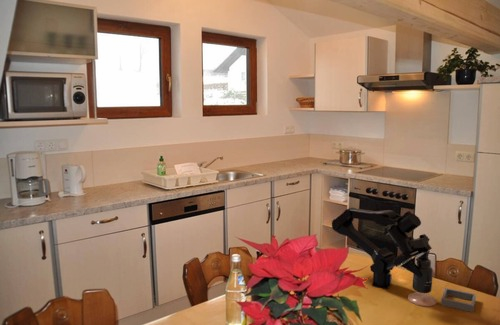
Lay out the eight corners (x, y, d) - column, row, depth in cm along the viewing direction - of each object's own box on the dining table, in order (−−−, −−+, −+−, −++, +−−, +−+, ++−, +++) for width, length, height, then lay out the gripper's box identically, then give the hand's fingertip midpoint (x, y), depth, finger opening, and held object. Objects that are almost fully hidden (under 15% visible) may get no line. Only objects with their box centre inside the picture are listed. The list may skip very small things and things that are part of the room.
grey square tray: (440, 304, 155) (441, 298, 154) (445, 293, 163) (445, 287, 163) (473, 312, 149) (473, 305, 149) (475, 300, 158) (475, 294, 157)
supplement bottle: (430, 295, 153) (432, 264, 152) (411, 291, 157) (412, 261, 155) (432, 288, 159) (434, 258, 158) (413, 284, 163) (415, 255, 161)
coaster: (405, 302, 157) (405, 300, 157) (411, 292, 165) (411, 290, 165) (434, 309, 152) (434, 307, 151) (438, 298, 160) (438, 296, 160)
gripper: (402, 233, 152) (429, 271, 145) (428, 223, 163) (454, 258, 156) (382, 248, 159) (407, 284, 152) (409, 237, 171) (433, 271, 164)
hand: (426, 274), depth 156 cm, fingers closed on supplement bottle, 7 cm apart
